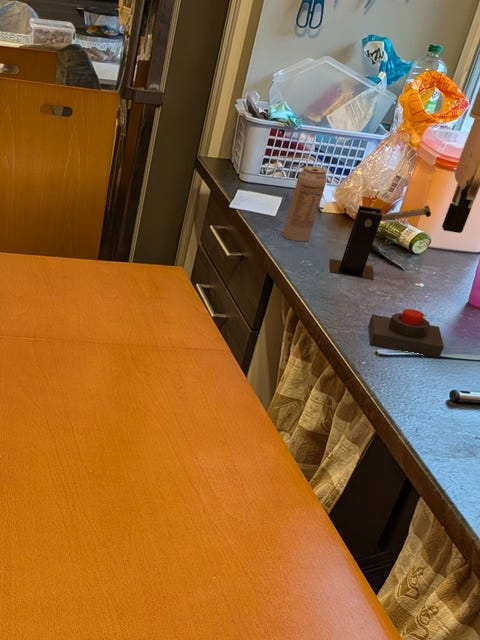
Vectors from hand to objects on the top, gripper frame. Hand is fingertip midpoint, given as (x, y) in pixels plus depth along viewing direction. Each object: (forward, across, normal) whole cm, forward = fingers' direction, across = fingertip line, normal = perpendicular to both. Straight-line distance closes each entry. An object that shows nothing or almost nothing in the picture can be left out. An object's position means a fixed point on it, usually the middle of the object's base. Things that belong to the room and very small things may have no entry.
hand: (451, 230), depth 158 cm
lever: (+7, +30, +5) cm, 32 cm away
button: (+15, -4, +2) cm, 16 cm away
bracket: (+19, +31, +10) cm, 37 cm away
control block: (+19, -4, +2) cm, 19 cm away
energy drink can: (+19, +48, +22) cm, 56 cm away
